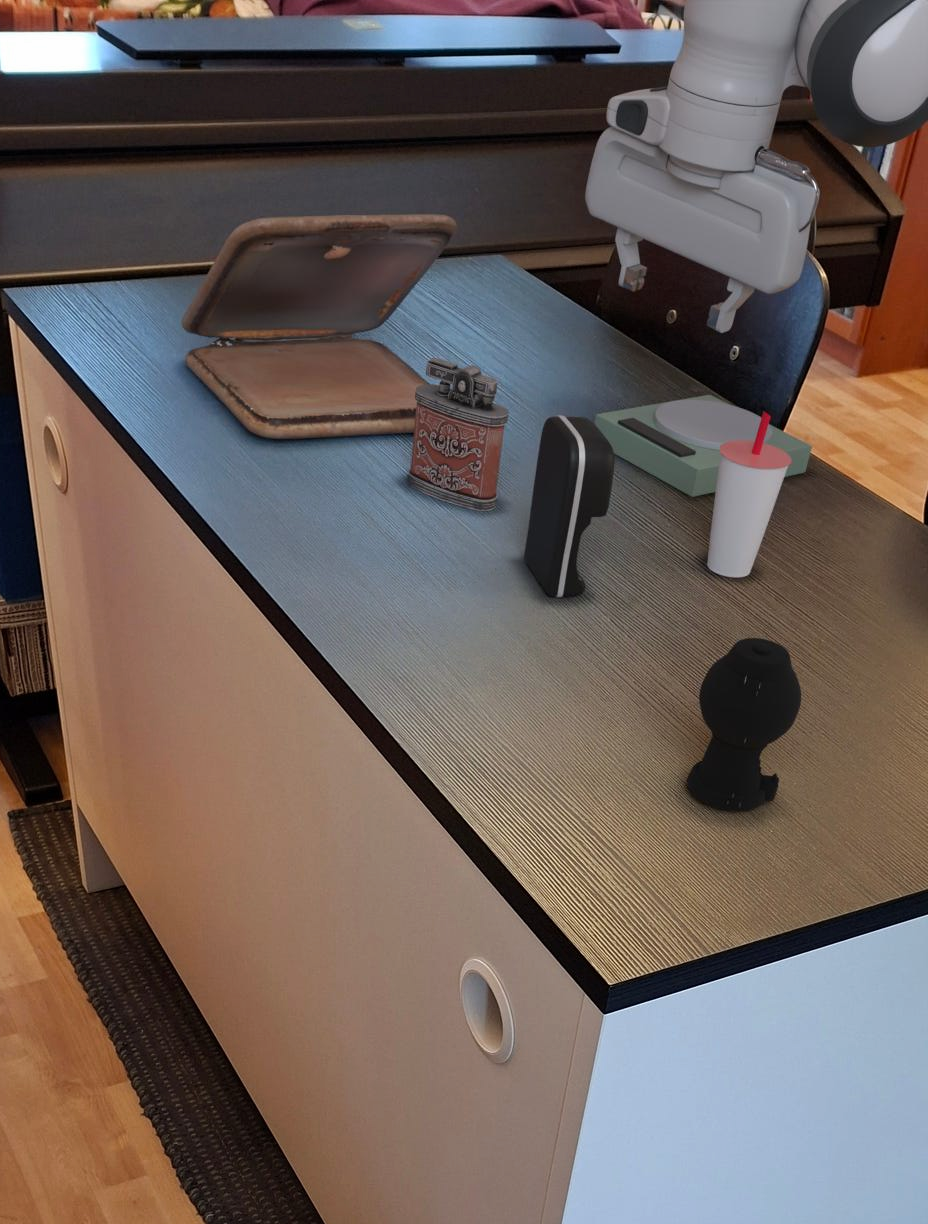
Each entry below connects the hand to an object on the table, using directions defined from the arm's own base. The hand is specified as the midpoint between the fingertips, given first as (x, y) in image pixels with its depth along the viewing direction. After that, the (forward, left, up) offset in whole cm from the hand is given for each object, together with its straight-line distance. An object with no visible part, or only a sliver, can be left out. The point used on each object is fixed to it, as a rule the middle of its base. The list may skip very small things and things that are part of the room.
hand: (673, 308), depth 135 cm
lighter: (+24, +3, -11) cm, 27 cm away
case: (+22, -19, -11) cm, 32 cm away
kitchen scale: (-2, +5, -11) cm, 12 cm away
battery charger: (+26, +19, -11) cm, 34 cm away
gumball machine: (+36, +47, -11) cm, 60 cm away
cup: (+12, +23, -11) cm, 28 cm away
